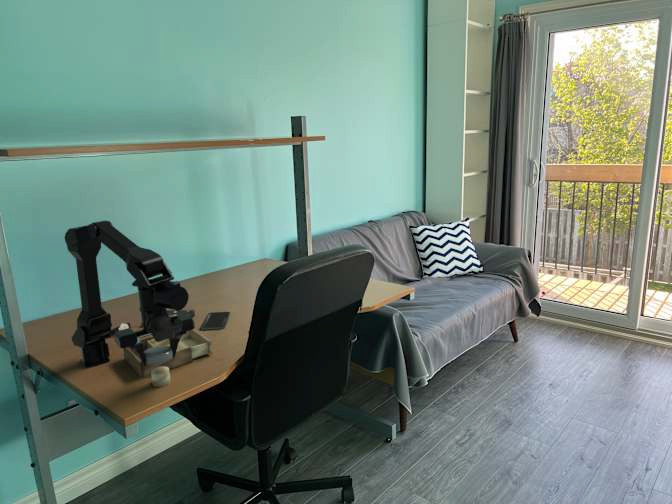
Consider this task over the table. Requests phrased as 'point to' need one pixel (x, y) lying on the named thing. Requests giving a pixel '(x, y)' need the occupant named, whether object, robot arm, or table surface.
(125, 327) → the watch
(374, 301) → the table surface
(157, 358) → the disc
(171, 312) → the disk drive
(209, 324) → the phone
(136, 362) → the housing
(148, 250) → the robot arm
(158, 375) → the stand
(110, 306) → the table surface
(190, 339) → the tray
